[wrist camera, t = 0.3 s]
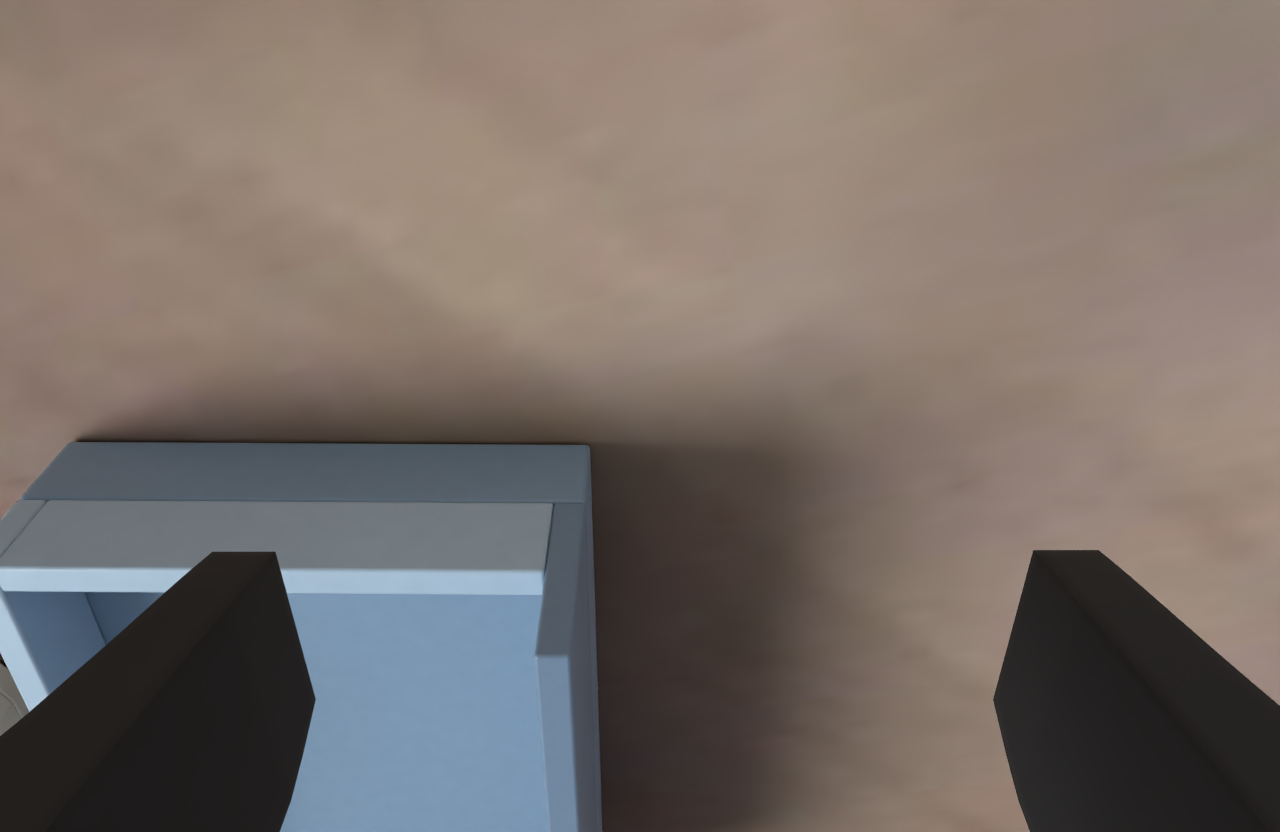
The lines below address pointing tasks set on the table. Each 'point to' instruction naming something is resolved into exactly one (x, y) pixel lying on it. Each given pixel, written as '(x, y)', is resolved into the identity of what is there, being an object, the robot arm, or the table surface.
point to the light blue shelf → (352, 610)
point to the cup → (10, 701)
